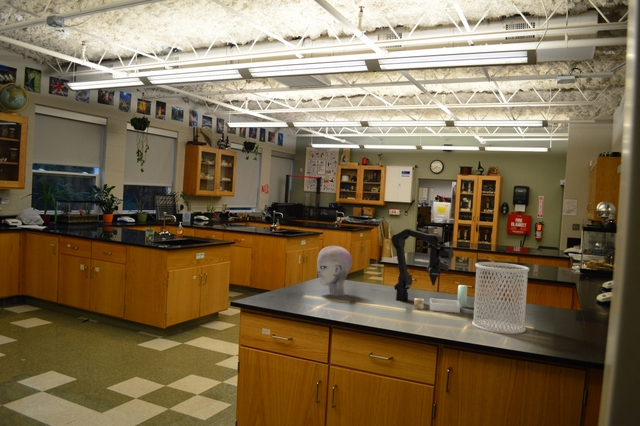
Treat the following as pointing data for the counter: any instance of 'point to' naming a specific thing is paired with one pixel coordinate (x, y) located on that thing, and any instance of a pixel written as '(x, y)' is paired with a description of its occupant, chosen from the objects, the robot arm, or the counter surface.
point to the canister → (462, 295)
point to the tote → (444, 305)
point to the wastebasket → (496, 323)
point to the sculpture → (334, 268)
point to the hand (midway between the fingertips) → (432, 283)
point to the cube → (418, 303)
